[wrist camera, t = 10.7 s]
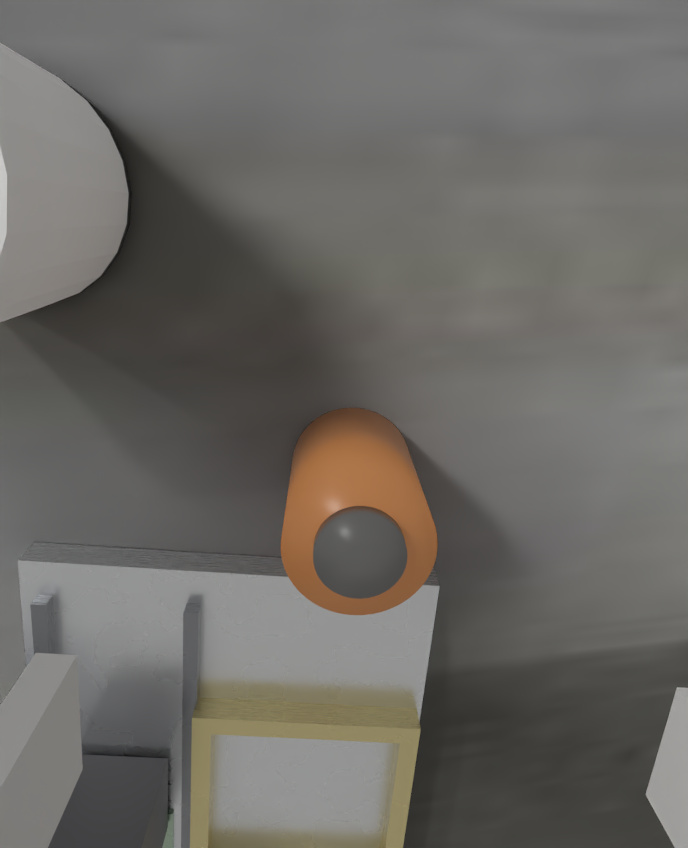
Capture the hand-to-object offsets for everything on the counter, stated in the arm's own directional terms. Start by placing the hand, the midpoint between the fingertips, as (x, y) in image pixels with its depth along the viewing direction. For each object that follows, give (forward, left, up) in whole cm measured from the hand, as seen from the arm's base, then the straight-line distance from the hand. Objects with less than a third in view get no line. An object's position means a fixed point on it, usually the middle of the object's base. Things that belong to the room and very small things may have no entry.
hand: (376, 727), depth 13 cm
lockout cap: (0, 0, -14) cm, 14 cm away
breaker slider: (+16, -9, -12) cm, 22 cm away
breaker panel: (+12, -4, -14) cm, 19 cm away
